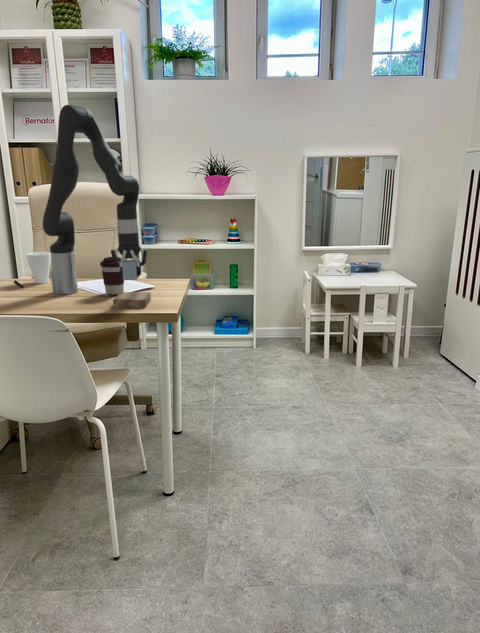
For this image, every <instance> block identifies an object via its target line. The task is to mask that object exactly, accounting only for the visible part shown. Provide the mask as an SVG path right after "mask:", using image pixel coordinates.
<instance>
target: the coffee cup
mask: <svg viewBox="0 0 480 633" xmlns="http://www.w3.org/2000/svg"><path fill="white" fill-rule="evenodd" d="M117 257H118V260H119V262H121V258H122V257H119V256H117ZM99 266H100V267H101V273H102V279H103V285H104V289H105V294H106V293H107V294H106V295H108V294H119V293H120V292H124V288H125V286H124V285H125V280H123V277H122V275H121V274H120V267H119V266H117V265H115V264H114V260H113V257H112V256H108V257H104V258H103V260H101V261H100V262H99Z"/></svg>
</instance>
